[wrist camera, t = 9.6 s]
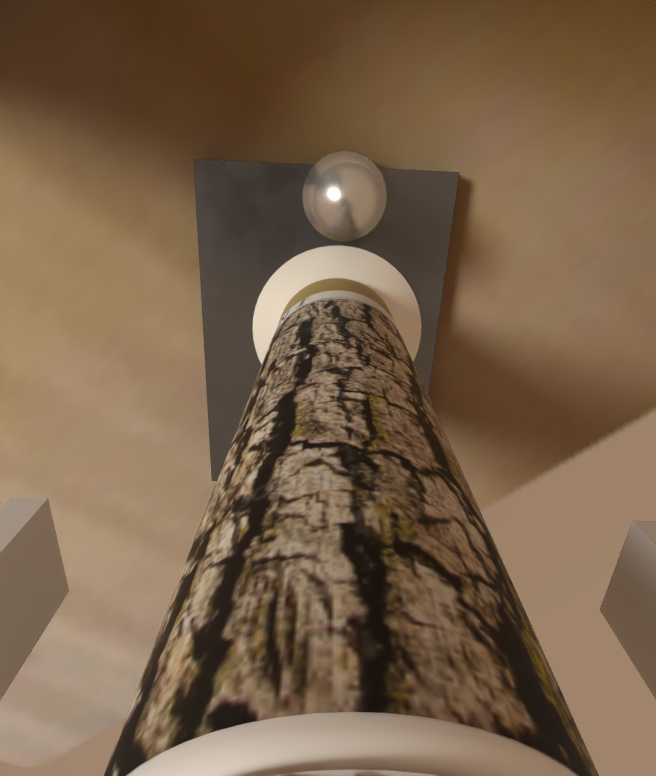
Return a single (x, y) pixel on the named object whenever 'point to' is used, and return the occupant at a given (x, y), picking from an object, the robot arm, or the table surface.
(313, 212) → the collar post
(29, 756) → the table surface
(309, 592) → the paper tube
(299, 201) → the plate
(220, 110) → the table surface
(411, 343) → the white dome cap
